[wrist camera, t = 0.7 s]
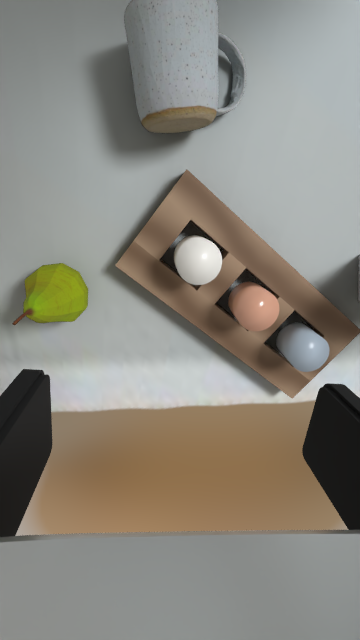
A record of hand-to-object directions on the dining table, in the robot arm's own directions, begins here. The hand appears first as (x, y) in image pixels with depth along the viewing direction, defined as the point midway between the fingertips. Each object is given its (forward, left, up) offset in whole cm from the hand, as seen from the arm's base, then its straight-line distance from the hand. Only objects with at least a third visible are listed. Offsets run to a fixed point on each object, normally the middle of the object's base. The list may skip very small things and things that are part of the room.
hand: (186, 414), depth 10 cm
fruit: (+8, -8, -27) cm, 29 cm away
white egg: (-4, +1, -24) cm, 24 cm away
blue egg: (-4, +17, -24) cm, 30 cm away
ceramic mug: (-16, -10, -27) cm, 33 cm away
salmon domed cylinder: (-4, +9, -24) cm, 26 cm away
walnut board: (-4, +9, -27) cm, 28 cm away
